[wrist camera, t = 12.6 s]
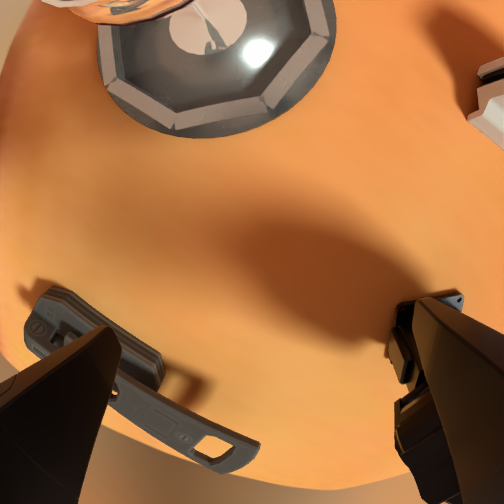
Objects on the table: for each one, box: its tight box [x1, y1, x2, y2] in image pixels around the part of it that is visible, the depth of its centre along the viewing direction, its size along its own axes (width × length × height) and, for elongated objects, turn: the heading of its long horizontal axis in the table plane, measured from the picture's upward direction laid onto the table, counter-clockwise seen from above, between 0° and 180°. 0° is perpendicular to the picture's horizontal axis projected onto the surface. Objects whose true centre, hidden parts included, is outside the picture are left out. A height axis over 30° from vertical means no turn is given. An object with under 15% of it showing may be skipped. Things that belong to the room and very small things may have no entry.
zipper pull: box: [24, 286, 261, 474], centre depth 25 cm, size 9×7×25 cm
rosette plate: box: [97, 0, 336, 138], centre depth 14 cm, size 16×16×2 cm
